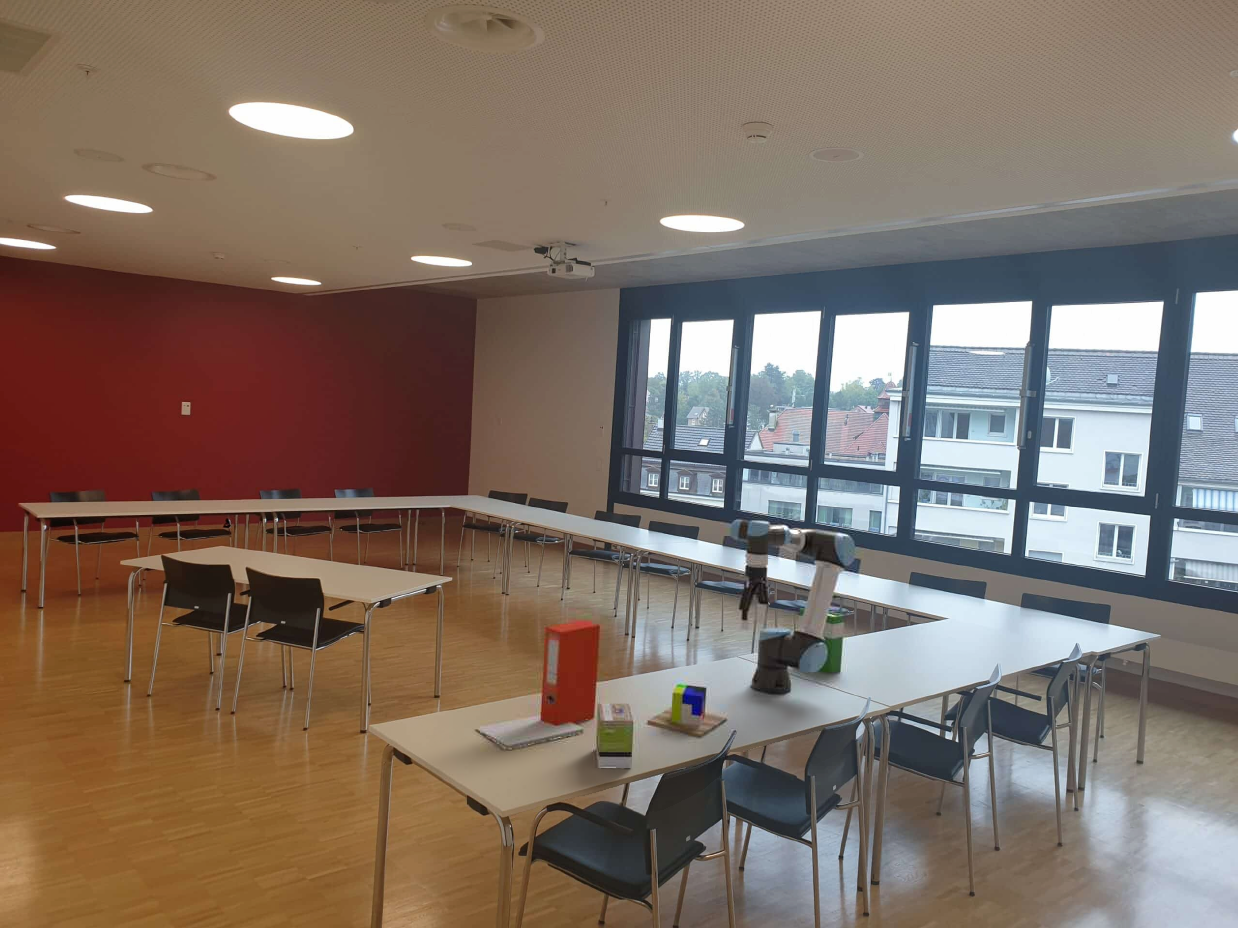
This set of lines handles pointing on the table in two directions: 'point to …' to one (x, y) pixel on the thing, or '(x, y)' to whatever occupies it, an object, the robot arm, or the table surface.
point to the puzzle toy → (688, 704)
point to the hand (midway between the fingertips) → (752, 625)
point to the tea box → (614, 735)
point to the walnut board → (707, 724)
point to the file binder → (570, 672)
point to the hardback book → (831, 641)
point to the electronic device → (527, 731)
